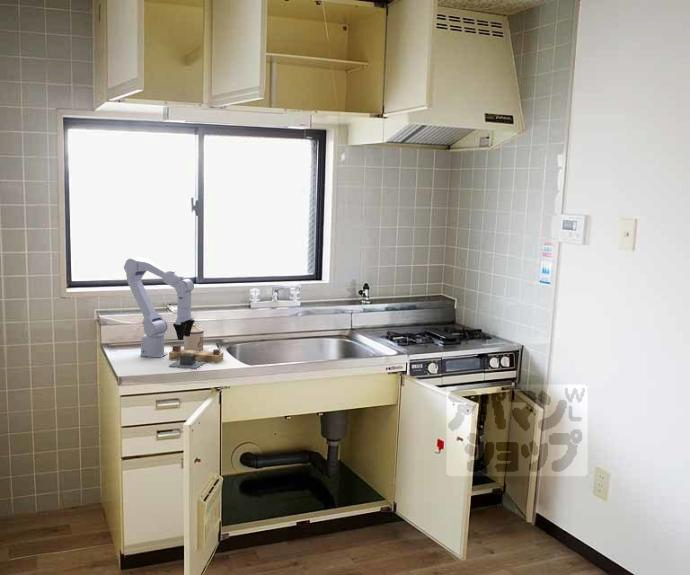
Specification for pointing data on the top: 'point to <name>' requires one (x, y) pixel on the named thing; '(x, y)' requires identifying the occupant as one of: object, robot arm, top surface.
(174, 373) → the top surface
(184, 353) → the lever cap
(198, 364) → the slate mat
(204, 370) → the top surface
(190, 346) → the teacup with lid
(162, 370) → the top surface
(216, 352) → the hand plane
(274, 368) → the top surface
